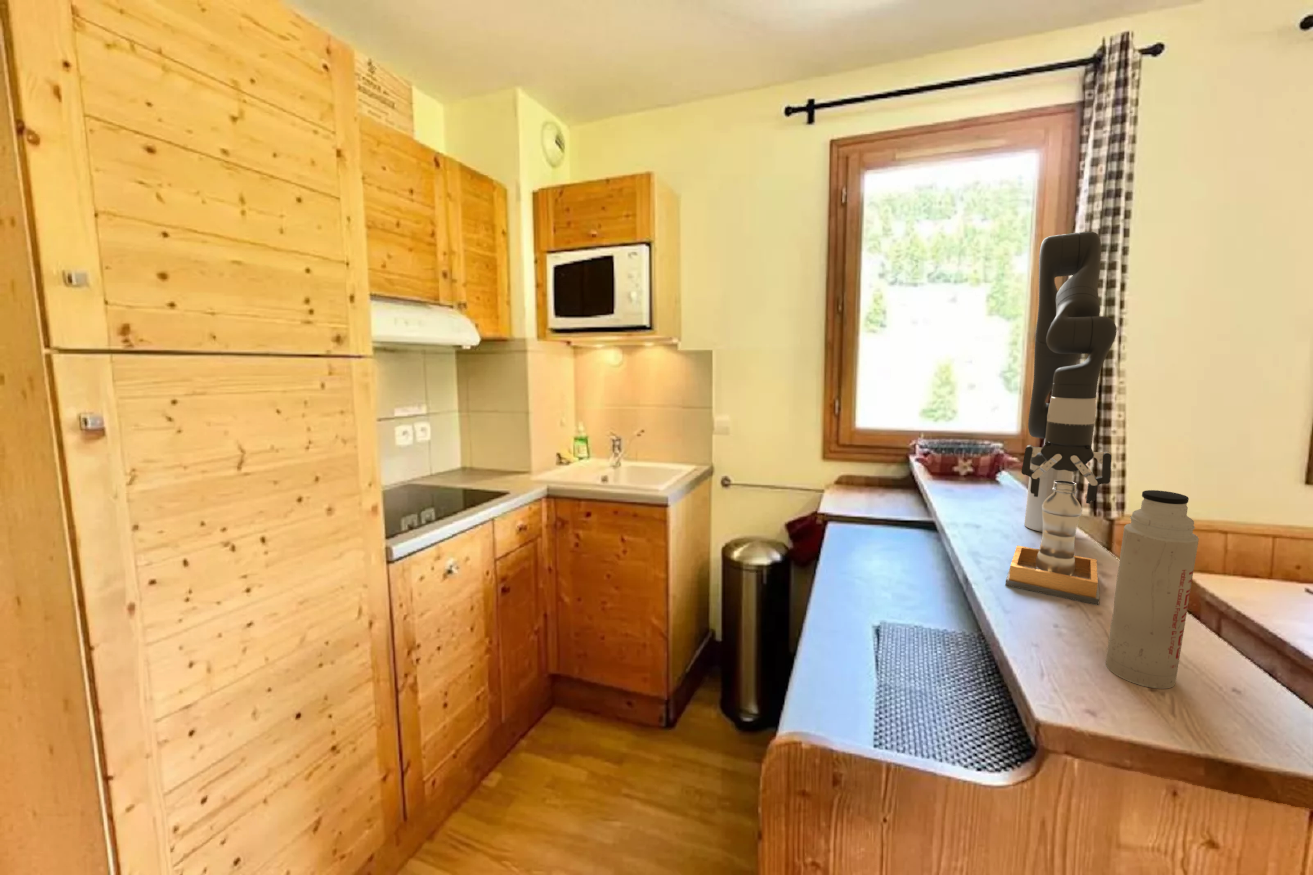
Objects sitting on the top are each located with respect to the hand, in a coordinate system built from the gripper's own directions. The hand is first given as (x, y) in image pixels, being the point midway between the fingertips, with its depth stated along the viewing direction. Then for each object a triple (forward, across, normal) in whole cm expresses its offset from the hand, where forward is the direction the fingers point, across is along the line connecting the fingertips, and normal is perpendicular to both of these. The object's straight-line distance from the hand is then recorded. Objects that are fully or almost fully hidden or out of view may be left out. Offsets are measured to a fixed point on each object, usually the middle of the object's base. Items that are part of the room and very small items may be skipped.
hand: (1061, 499), depth 112 cm
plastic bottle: (+17, 0, 0) cm, 17 cm away
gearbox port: (+18, 0, 0) cm, 18 cm away
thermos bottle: (+18, -12, +31) cm, 38 cm away
